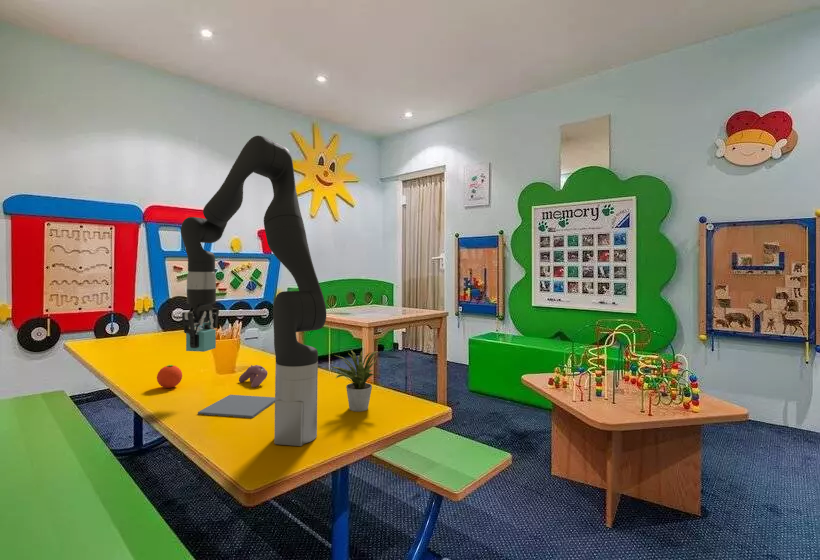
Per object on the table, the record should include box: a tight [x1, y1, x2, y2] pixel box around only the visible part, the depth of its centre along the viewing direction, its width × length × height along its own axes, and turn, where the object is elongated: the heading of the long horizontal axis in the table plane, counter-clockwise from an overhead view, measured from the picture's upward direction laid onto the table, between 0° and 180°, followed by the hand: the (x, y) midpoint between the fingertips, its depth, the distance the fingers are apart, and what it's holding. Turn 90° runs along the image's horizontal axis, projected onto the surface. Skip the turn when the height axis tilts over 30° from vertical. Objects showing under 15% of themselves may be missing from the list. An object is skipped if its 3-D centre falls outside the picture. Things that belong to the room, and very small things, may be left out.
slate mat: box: [197, 394, 275, 419], centre depth 114 cm, size 15×15×1 cm
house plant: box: [331, 350, 381, 412], centre depth 116 cm, size 14×14×16 cm
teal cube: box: [185, 328, 217, 353], centre depth 120 cm, size 6×6×6 cm
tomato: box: [156, 364, 183, 389], centre depth 131 cm, size 8×7×7 cm
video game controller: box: [238, 364, 268, 388], centre depth 137 cm, size 10×5×7 cm, turn 48°
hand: (201, 345), depth 120 cm, fingers closed on teal cube, 5 cm apart
